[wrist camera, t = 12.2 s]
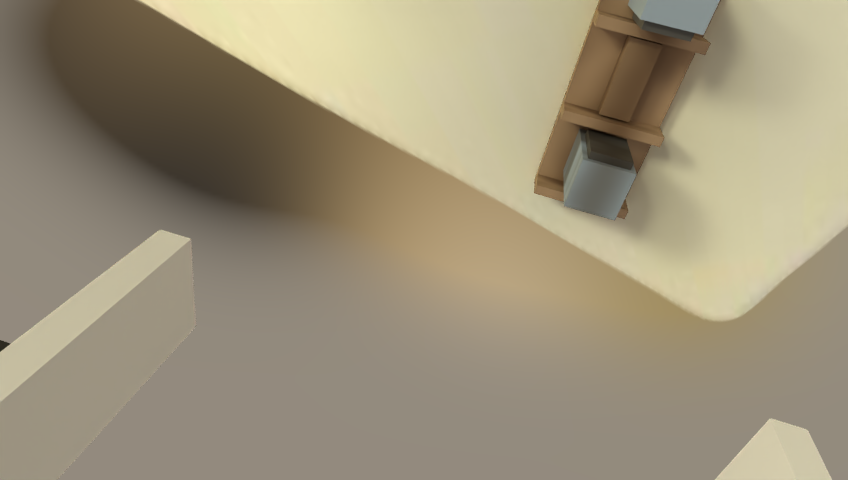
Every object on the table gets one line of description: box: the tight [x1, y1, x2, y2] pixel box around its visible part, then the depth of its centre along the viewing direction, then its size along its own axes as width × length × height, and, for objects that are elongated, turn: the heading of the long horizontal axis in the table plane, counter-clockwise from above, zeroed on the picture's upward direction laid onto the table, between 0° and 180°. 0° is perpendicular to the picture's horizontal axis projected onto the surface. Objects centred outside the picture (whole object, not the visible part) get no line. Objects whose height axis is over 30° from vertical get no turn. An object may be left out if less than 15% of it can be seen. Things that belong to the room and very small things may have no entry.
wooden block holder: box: [534, 0, 721, 220], centre depth 39 cm, size 8×22×8 cm, turn 168°
